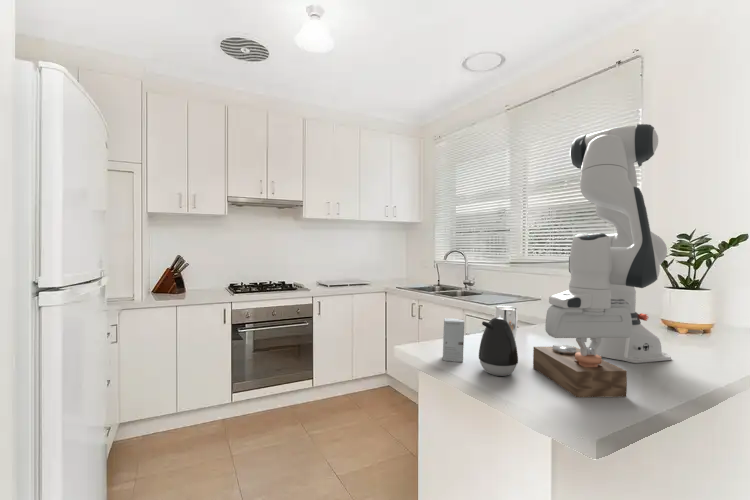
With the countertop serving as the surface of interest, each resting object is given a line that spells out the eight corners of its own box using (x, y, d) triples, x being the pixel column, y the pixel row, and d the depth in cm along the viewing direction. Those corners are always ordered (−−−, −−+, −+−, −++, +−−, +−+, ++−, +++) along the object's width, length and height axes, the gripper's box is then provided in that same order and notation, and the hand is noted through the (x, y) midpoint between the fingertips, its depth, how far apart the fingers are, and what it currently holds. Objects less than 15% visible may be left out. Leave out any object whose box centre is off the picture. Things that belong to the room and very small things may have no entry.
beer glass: (518, 359, 110) (519, 310, 110) (495, 357, 112) (495, 309, 111) (514, 352, 117) (515, 306, 117) (492, 350, 118) (493, 305, 118)
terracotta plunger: (591, 371, 91) (591, 352, 91) (606, 380, 85) (607, 359, 85) (569, 371, 90) (570, 352, 90) (584, 380, 85) (584, 359, 85)
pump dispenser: (470, 368, 101) (471, 315, 101) (500, 364, 105) (500, 312, 104) (494, 381, 91) (495, 322, 91) (526, 376, 95) (527, 319, 95)
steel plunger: (567, 362, 101) (568, 344, 101) (580, 369, 95) (580, 350, 95) (548, 362, 100) (548, 344, 100) (559, 369, 95) (560, 350, 95)
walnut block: (573, 367, 103) (574, 346, 103) (626, 396, 83) (626, 371, 83) (533, 367, 102) (533, 346, 102) (576, 397, 83) (577, 371, 82)
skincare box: (442, 361, 107) (443, 320, 107) (442, 356, 112) (443, 317, 112) (464, 362, 107) (464, 321, 106) (462, 357, 111) (463, 318, 111)
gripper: (620, 297, 91) (619, 351, 92) (542, 297, 90) (541, 351, 90) (640, 301, 85) (638, 359, 85) (556, 300, 84) (555, 359, 84)
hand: (588, 355), depth 88 cm, fingers closed, pressing on terracotta plunger
